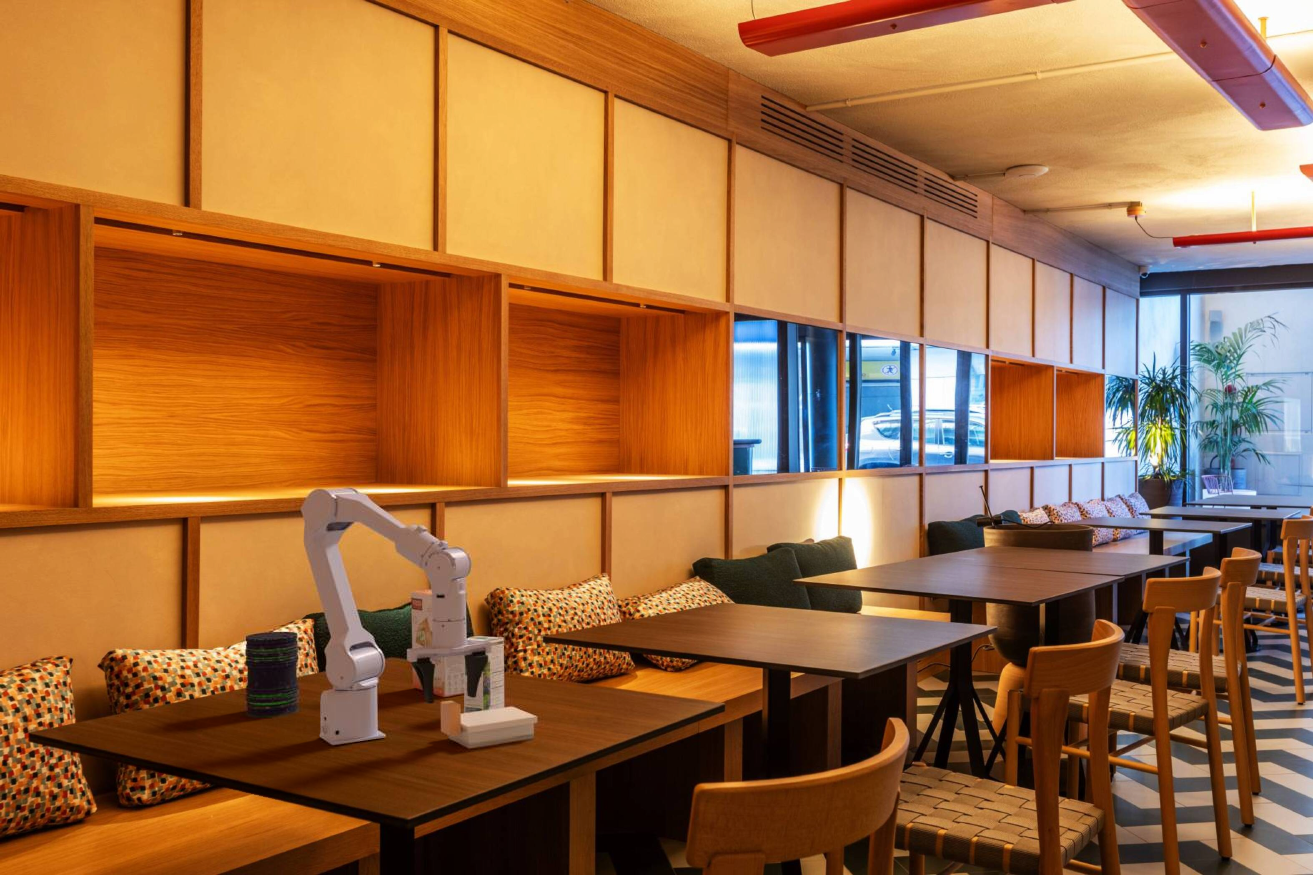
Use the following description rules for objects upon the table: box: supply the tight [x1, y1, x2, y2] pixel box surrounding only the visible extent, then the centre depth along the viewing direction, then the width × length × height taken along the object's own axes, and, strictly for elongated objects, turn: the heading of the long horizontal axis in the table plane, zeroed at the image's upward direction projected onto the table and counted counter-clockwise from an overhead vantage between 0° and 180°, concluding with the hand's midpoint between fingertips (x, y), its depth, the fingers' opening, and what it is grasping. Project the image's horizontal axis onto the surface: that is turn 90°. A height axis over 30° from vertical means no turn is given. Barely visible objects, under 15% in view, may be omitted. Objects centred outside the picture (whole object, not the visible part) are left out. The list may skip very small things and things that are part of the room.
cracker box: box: [410, 589, 464, 698], centre depth 241 cm, size 14×6×21 cm, turn 39°
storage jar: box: [244, 631, 300, 718], centre depth 223 cm, size 10×10×15 cm
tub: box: [448, 723, 535, 749], centre depth 198 cm, size 12×9×3 cm
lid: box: [440, 700, 538, 737], centre depth 198 cm, size 15×10×5 cm
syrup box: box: [463, 635, 505, 713], centre depth 218 cm, size 6×6×14 cm
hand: (450, 699), depth 194 cm, fingers open, 7 cm apart
